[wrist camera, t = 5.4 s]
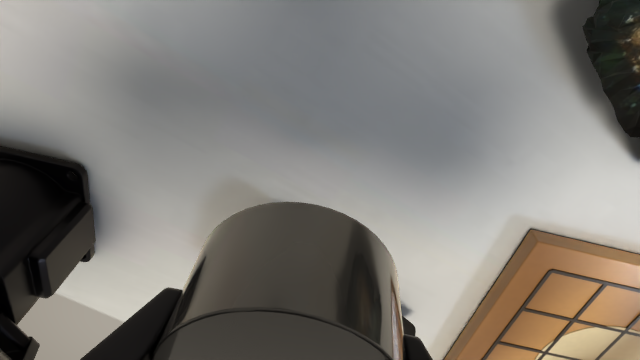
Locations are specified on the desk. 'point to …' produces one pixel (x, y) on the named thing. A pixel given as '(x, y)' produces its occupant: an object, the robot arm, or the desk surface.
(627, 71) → the decorative rock
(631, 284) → the grid board
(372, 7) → the desk surface
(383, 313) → the grey short cylinder
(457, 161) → the desk surface
